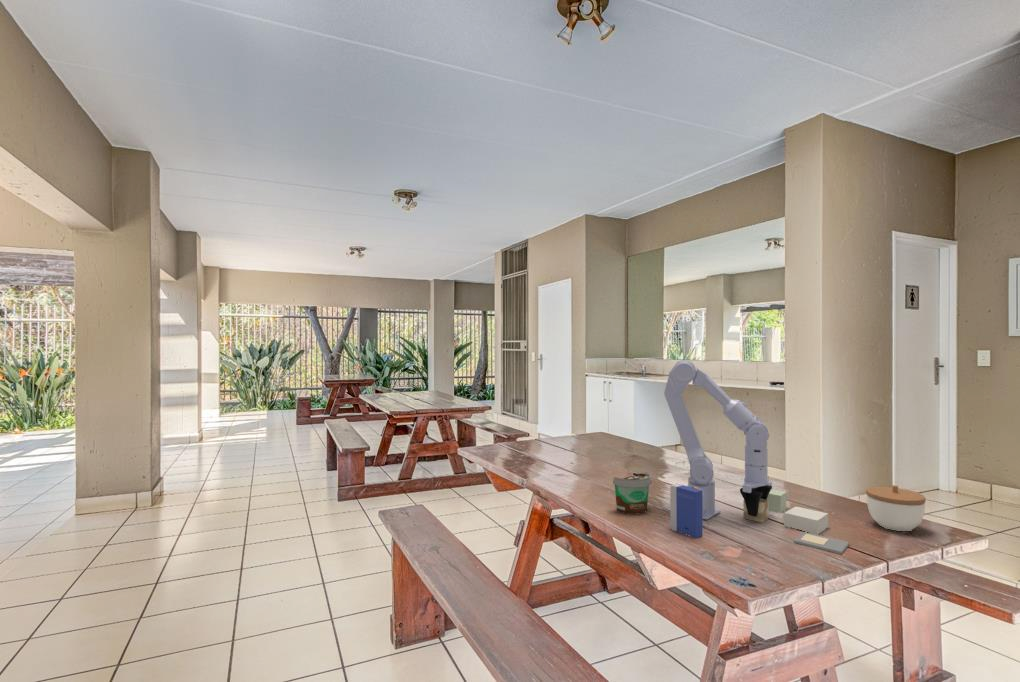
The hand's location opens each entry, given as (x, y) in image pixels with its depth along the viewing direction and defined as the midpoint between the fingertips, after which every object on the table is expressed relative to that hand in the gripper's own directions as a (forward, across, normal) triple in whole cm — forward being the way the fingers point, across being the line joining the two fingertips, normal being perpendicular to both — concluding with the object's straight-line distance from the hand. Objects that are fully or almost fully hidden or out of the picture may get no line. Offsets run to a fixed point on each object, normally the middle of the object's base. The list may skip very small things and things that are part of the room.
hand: (756, 513), depth 146 cm
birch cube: (+1, 0, 0) cm, 1 cm away
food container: (+2, -18, +27) cm, 32 cm away
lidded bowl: (+2, +18, -29) cm, 34 cm away
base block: (+2, +2, -12) cm, 12 cm away
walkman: (+2, -24, +9) cm, 26 cm away
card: (+1, -8, -18) cm, 20 cm away
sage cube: (+2, +12, -1) cm, 12 cm away
